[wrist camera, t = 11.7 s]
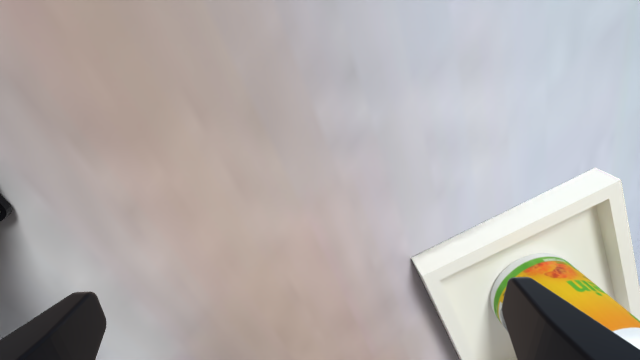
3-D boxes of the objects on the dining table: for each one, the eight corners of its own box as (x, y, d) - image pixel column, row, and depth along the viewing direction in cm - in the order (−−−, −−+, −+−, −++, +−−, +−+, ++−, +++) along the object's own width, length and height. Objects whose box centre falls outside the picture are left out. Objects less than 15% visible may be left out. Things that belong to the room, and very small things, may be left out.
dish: (468, 377, 28) (481, 400, 27) (411, 257, 24) (422, 276, 22) (622, 305, 28) (645, 324, 26) (595, 167, 23) (621, 179, 21)
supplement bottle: (587, 267, 25) (767, 409, 16) (533, 330, 26) (671, 492, 18) (523, 237, 23) (684, 376, 14) (470, 306, 25) (587, 471, 16)
